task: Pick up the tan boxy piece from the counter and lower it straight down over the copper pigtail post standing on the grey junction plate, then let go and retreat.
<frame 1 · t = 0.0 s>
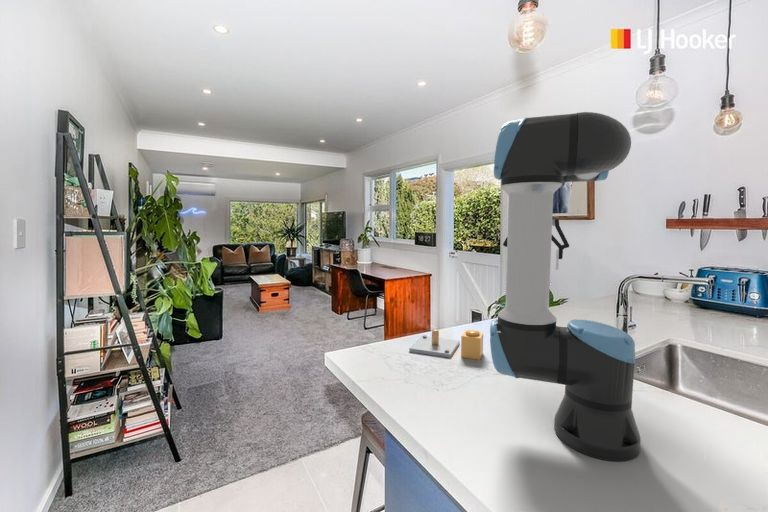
hand: (534, 268, 121), 28 cm above the worktop, fingers open, 13 cm apart
tan boxy piece: (472, 355, 118), on the worktop
junction plate: (435, 347, 125), on the worktop
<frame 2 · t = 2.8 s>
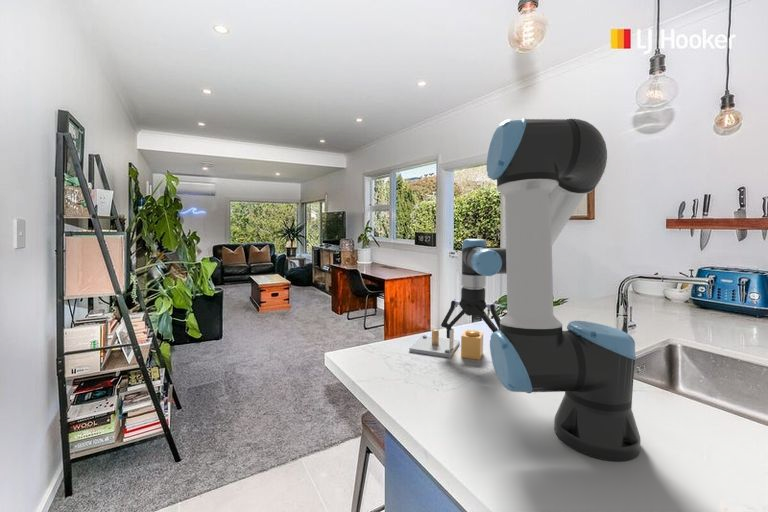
hand: (471, 350, 118), 1 cm above the worktop, fingers open, 13 cm apart
nothing on the worktop moved.
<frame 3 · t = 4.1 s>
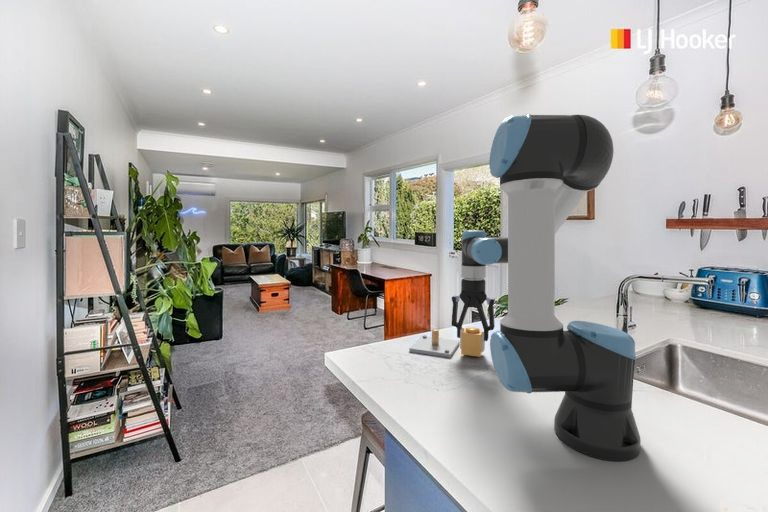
hand: (472, 348, 117), 2 cm above the worktop, fingers closed on tan boxy piece, 6 cm apart
tan boxy piece: (472, 352, 117), point 1 cm above the worktop, touching gripper
when the fingers open (1 cm above the worktop, at t = 8.6 s): tan boxy piece stays where it is, resting on junction plate.
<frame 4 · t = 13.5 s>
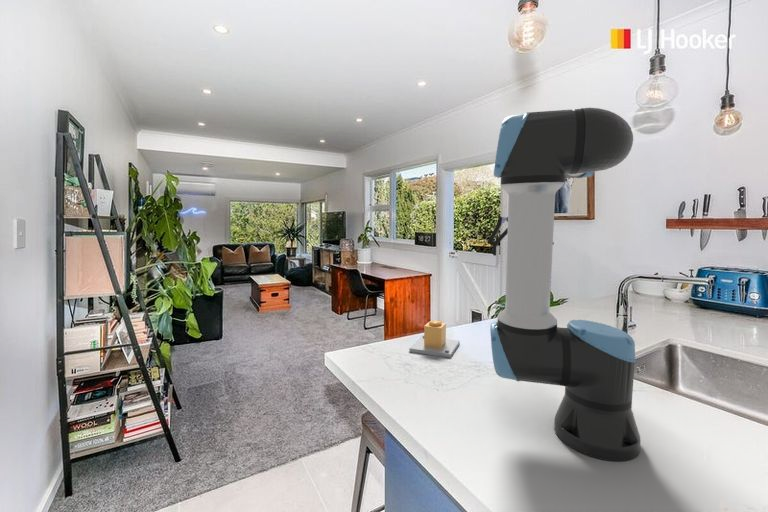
hand: (518, 266, 119), 29 cm above the worktop, fingers open, 13 cm apart
tan boxy piece: (435, 344, 125), point 1 cm above the worktop, touching junction plate
at the end: tan boxy piece 0.1 cm off-centre on the junction plate, point 1.2 cm above the junction plate's base; tan boxy piece tilted 0°; the gripper is holding nothing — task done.
